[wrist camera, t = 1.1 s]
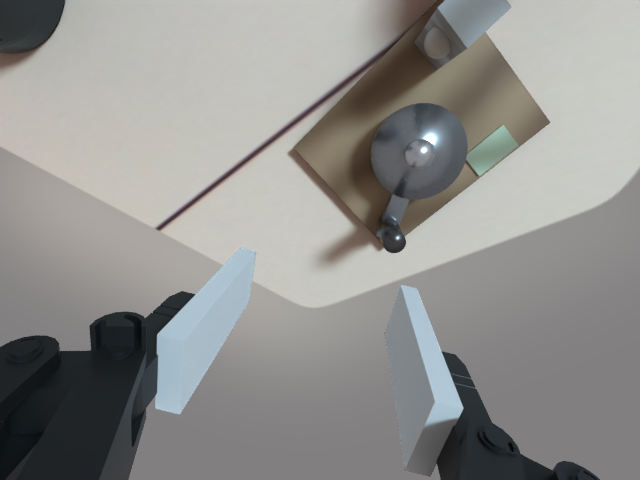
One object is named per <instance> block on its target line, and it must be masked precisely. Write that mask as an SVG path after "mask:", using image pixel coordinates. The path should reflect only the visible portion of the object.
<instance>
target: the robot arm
mask: <svg viewBox="0 0 640 480" xmlns="http://www.w3.org/2000/svg"><path fill="white" fill-rule="evenodd" d="M63 5H64V0H0V52H4V53H20V52H24V51H28V50H30V49H33V48H35V47H37V46H38V45H40V44H41V43H42V42H43V41H45V40H46V39H47V38H48V37H49V35H50V34H51V33H52V31H53V30H54V28H55V27H56V25H57V23H58V21H59V18H60V16H61V12H62V9H63ZM255 257H256V251H252V250H247V249H243V248H240V249H239V250H238V251H237V252H236V253H235V254H234V255H233V256H232V257H231V258H230V259H229V260H228V261H227V262H226V264H225V265H224V266H223V267H222V268H221V269H220V270H219V271H218V272H217V273H216V274H215V275H214V276H213V277H212V278H211V279H210V280H209V281H208V282H207V283H206V284H205V285H204V286H203V287H202V289H201V290H200V291H199V292H198V293H197V294H192V293H187V292H183V291H181V292H180V293H177V294H175V295H172V296H170V297H169V298H167V299H166V300H165V301H164V302H163V303H162V304H161V305H160V306H159V307H158V308H156V310H154V311H153V313H151V314H150V315H149V316H148V317H146V318H144V317H143V316H141V315H139V314H137V313H133V312H116V313H112V314H109V315H105V316H103V317H101V318H99V319H97V320H95V322H93V323H92V324H91V325H90V338H91V351H60V348H59V343H58V342H57V340H56V339H55V338H52V337H48V336H29V337H24V338H20V339H17V340H14V341H11V342H9V343H7V344H5V345H3V346H2V347H0V480H128V478H129V475H130V472H131V468H132V465H133V461H134V458H135V454H136V451H137V447H138V444H139V440H140V437H141V434H142V430H143V427H144V423H145V420H146V407H147V406H148V405H149V403H150V402H151V401H152V399H153V398H154V397H155V395H156V409H159V410H164V411H168V412H171V413H176V414H180V413H181V412H182V410H183V408H184V407H185V405H186V404H187V402H188V400H189V399H190V397H191V395H192V394H193V392H194V391H195V389H196V387H197V386H198V384H199V382H200V381H201V379H202V377H203V376H204V374H205V373H206V371H207V369H208V368H209V366H210V364H211V363H212V361H213V359H214V358H215V356H216V355H217V353H218V351H219V350H220V348H221V347H222V345H223V343H224V342H225V340H226V338H227V337H228V335H229V333H230V332H231V330H232V329H233V327H234V325H235V324H236V322H237V320H238V319H239V317H240V316H241V314H242V312H243V311H244V309H245V307H246V306H247V304H248V303H249V299H250V292H251V285H252V278H253V271H254V264H255ZM385 338H386V346H387V352H388V359H389V366H390V373H391V380H392V386H393V394H394V401H395V406H396V414H397V421H398V427H399V434H400V442H401V448H402V454H403V461H404V469H405V470H406V471H409V472H413V473H417V474H422V475H426V476H431V474H432V472H433V470H434V468H435V466H436V464H437V465H438V469H439V473H440V478H441V480H600V479H599V478H598V477H596V476H595V475H594V474H592V473H591V472H590V471H588V470H587V469H585V468H583V467H581V466H579V465H577V464H575V463H573V462H567V461H562V462H559V463H557V465H556V466H555V467H554V469H553V470H550V469H548V468H546V467H544V466H543V465H541V464H539V463H537V462H534V461H532V460H530V459H529V458H527V457H525V456H523V455H522V454H520V451H519V449H518V446H517V445H516V444H515V442H514V441H513V439H512V438H511V437H510V436H509V435H508V434H507V433H505V432H504V431H503V430H502V429H501V428H499V427H498V426H496V425H495V424H493V423H492V422H491V419H490V417H489V415H488V413H487V411H486V409H485V407H484V404H483V403H482V400H481V398H480V396H479V394H478V392H477V390H476V389H475V386H474V383H473V381H472V380H471V377H470V374H469V372H468V370H467V368H466V366H465V365H464V364H463V363H462V361H461V360H460V359H459V358H458V357H457V356H456V355H455V354H450V353H445V352H442V351H441V349H440V346H439V344H438V341H437V339H436V336H435V334H434V331H433V329H432V326H431V323H430V321H429V318H428V316H427V313H426V311H425V308H424V305H423V303H422V301H421V298H420V295H419V293H418V290H417V288H412V287H408V286H404V285H400V288H399V292H398V294H397V298H396V300H395V303H394V307H393V309H392V313H391V316H390V319H389V322H388V325H387V328H386V331H385Z"/></svg>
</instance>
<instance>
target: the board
mask: <svg viewBox="0 0 640 480" xmlns="http://www.w3.org/2000/svg"><path fill="white" fill-rule="evenodd" d="M510 8H511V6H510V4H509V3H508V2H507V0H438V1H437V2H436V3H435V4H434V5H433V6H432V7H431V8H430V9H429V10H428V11H427V12H426V13H425V14H424V15H423V16H422V17H421V18H420V19H419V20H418V21H417V22H416V23H415V24H414V25H413V26H412V27H411V28H410V29H409V30H408V31H407V32H406V33H405V34H404V35H403V36H402V38H401V39H400V40H399V41H398V42H397V43H396V44H395V45H394V46H393V47H392V48H391V49H390V50H389V51H388V52H387V53H386V54H385V55H384V56H383V57H382V58H381V59H380V60H379V61H378V62H377V63H376V64H375V65H374V66H373V67H372V68H371V69H370V70H369V71H368V72H367V73H366V74H365V75H364V76H363V77H362V78H361V79H360V80H359V81H358V83H357V84H356V85H355V86H354V87H353V88H352V89H351V90H350V91H349V92H348V93H347V94H346V95H345V96H344V97H343V98H342V99H341V100H340V101H339V102H338V103H337V104H336V105H335V106H334V107H333V108H332V109H331V110H330V111H329V112H328V113H327V114H326V115H325V116H324V117H323V118H322V119H321V120H320V121H319V122H318V123H317V124H316V125H315V127H314V128H313V129H312V130H311V131H310V132H309V133H308V134H307V135H306V136H305V137H304V138H303V139H302V140H301V141H300V142H299V143H298V144H297V145H296V146H295V147H294V149H295V150H296V151H297V152H298V153H299V154H300V155H301V156H302V157H303V158H304V159H305V160H306V162H307V163H308V164H309V165H310V166H311V167H312V168H313V169H314V170H315V171H316V172H317V174H318V175H319V176H320V177H321V178H322V179H323V180H324V181H325V182H326V183H327V184H328V185H329V187H330V188H331V189H332V190H333V191H334V192H335V193H336V194H337V195H338V196H339V197H340V198H341V200H342V201H343V202H344V203H345V204H346V205H347V206H348V207H349V208H350V209H351V210H352V212H353V213H354V214H355V215H356V216H357V217H358V218H359V219H360V220H361V221H362V222H363V223H364V225H365V226H366V227H367V228H368V229H369V230H370V231H371V232H372V233H373V234H374V235H375V236H376V231H377V228H378V220H379V218H380V216H382V215H383V212H384V210H385V207H386V205H387V202H388V199H389V197H390V194H391V192H389V191H388V190H387V189H385V188H384V187H383V186H382V184H381V183H380V182H379V180H378V179H377V177H376V175H375V173H374V170H373V168H372V164H371V159H370V149H371V143H372V139H373V137H374V134H375V132H376V130H377V129H378V127H379V126H380V124H381V123H382V122H383V121H384V120H385V119H386V118H387V117H388V116H389V115H391V114H392V113H394V112H395V111H397V110H399V109H401V108H403V107H406V106H409V105H412V104H417V103H431V104H436V105H439V106H442V107H444V108H446V109H447V110H449V111H450V112H452V113H453V114H454V115H455V116H456V117H457V118H458V119H459V121H460V122H461V124H462V126H463V128H464V130H465V133H466V136H467V142H468V150H467V157H466V161H465V164H464V167H463V169H462V171H461V173H460V174H459V176H458V177H457V179H456V180H455V181H454V182H453V183H452V184H451V185H450V186H449V187H448V188H447V189H445V190H444V191H442V192H441V193H439V194H437V195H435V196H432V197H429V198H426V199H419V200H411V199H410V200H409V203H408V205H407V207H406V210H405V212H404V215H403V217H402V220H401V222H400V225H399V226H400V229H401V231H402V233H403V235H404V237H405V236H406V235H407V234H408V233H410V232H411V231H412V230H413V229H415V228H416V227H417V226H419V225H420V224H421V223H422V222H424V221H425V220H426V219H428V218H429V217H430V216H431V215H433V214H434V213H435V212H437V211H438V210H439V209H440V208H442V207H443V206H444V205H445V204H447V203H448V202H449V201H451V200H452V199H453V198H454V197H456V196H457V195H458V194H460V193H461V192H462V191H463V190H465V189H466V188H467V187H469V186H470V185H471V184H472V183H474V182H475V181H476V180H477V179H479V178H480V177H481V176H483V175H484V174H485V173H486V172H488V171H489V170H490V169H492V168H493V167H494V166H495V165H497V164H498V163H499V162H501V161H502V160H503V159H504V158H506V157H507V156H508V155H509V154H511V153H512V152H513V151H515V150H516V149H517V148H518V147H520V146H521V145H522V144H524V143H525V142H526V141H527V140H529V139H530V138H531V137H533V136H534V135H535V134H536V133H538V132H539V131H540V130H541V129H543V128H544V127H545V126H547V125H548V124H549V123H550V121H549V120H548V118H547V117H546V116H545V114H544V113H543V111H542V110H541V109H540V107H539V106H538V105H537V103H536V102H535V100H534V99H533V98H532V96H531V95H530V93H529V92H528V91H527V89H526V88H525V86H524V85H523V84H522V82H521V81H520V80H519V78H518V77H517V75H516V74H515V73H514V71H513V70H512V68H511V67H510V66H509V64H508V63H507V61H506V60H505V59H504V57H503V56H502V55H501V53H500V52H499V50H498V49H497V48H496V46H495V45H494V43H493V42H492V41H491V39H490V38H489V36H488V35H487V34H486V31H487V30H488V29H489V28H490V27H491V26H492V25H493V24H494V23H495V22H496V21H497V20H498V19H499V18H500V17H502V16H503V15H504V14H505V13H506V12H507V11H508V10H509V9H510ZM376 238H377V239H378V240H379V241H380V242H381V243H382V244H383V241H382V238H380V237H377V236H376Z"/></svg>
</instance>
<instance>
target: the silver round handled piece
mask: <svg viewBox="0 0 640 480" xmlns="http://www.w3.org/2000/svg"><path fill="white" fill-rule="evenodd" d="M467 150H468V142H467V136H466V133H465V130H464V128H463V126H462V124H461V122H460V121H459V119H458V118H457V117H456V116H455V115H454V114H453V113H452V112H450V111H449V110H447V109H446V108H444V107H442V106H439V105H436V104H431V103H417V104H412V105H409V106H406V107H403V108H401V109H399V110H397V111H395V112H394V113H392V114H391V115H389V116H388V117H387V118H386V119H385V120H384V121H383V122H382V123H381V124H380V126H379V127H378V129H377V130H376V132H375V134H374V137H373V139H372V143H371V149H370V159H371V164H372V168H373V170H374V173H375V175H376V177H377V179H378V180H379V182H380V183H381V184H382V186H383V187H384V188H385V189H387V190H388V191H389V192H391V194H390V197H389V199H388V202H387V205H386V207H385V210H384V212H383V215H382V216H380V218H379V220H378V228H377V231H376V236H377V237H380V238H382V241H383V245H384V248H385V249H386V250H387V251H388V252H391V253H398V252H400V251H402V250H403V249H404V247H405V245H406V240H405V237H404V235H403V233H402V231H401V229H400V226H399V225H400V222H401V220H402V217H403V215H404V212H405V210H406V207H407V205H408V203H409V200H410V199H411V200H419V199H426V198H429V197H432V196H435V195H437V194H439V193H441V192H442V191H444V190H445V189H447V188H448V187H449V186H450V185H451V184H452V183H453V182H454V181H455V180H456V179H457V177H458V176H459V174H460V173H461V171H462V169H463V167H464V164H465V161H466V157H467Z"/></svg>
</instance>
